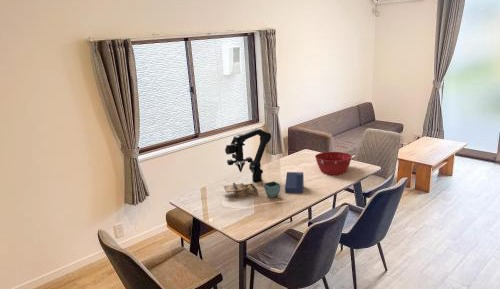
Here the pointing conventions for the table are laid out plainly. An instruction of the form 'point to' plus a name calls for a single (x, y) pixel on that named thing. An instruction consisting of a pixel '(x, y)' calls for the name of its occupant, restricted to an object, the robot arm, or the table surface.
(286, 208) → the table surface
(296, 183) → the phone stand
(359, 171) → the table surface
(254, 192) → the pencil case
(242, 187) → the lid
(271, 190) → the flower pot
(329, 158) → the mixing bowl
